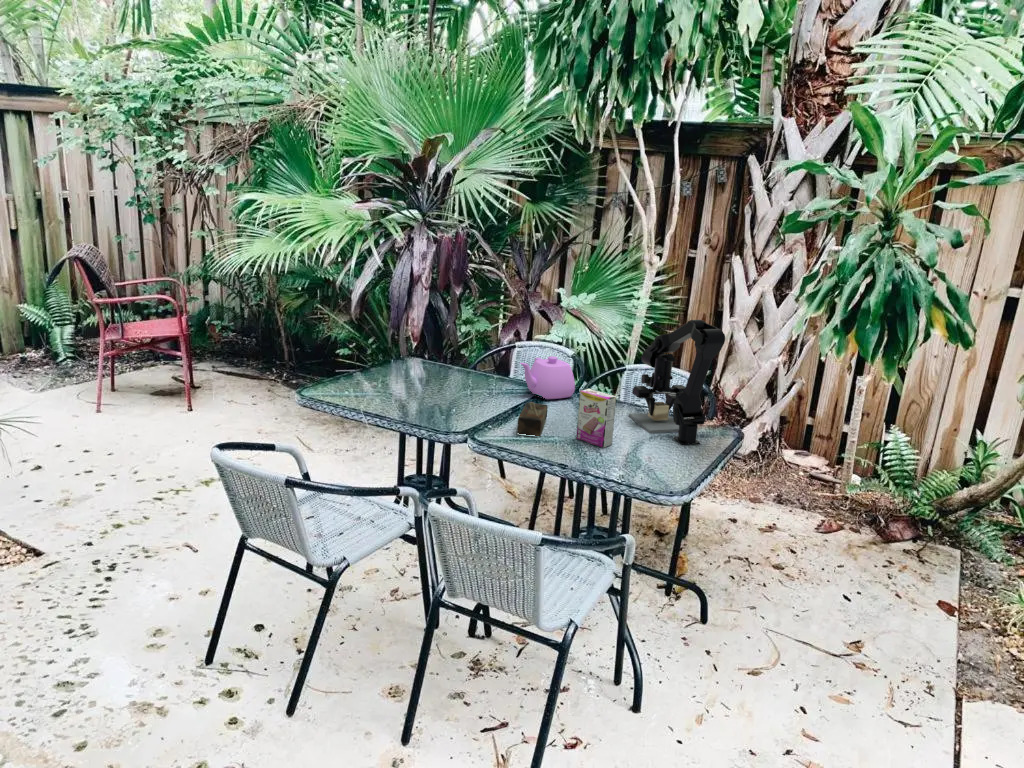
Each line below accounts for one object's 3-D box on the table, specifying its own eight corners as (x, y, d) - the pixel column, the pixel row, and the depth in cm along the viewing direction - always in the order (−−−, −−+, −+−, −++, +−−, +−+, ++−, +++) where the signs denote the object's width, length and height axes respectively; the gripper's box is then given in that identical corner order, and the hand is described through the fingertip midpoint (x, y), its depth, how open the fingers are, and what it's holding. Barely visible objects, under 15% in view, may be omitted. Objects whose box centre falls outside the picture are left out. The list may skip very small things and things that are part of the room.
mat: (687, 431, 256) (687, 428, 256) (649, 433, 253) (649, 430, 252) (664, 414, 273) (664, 412, 273) (628, 416, 269) (628, 413, 269)
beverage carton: (547, 420, 261) (548, 402, 259) (540, 439, 243) (541, 419, 241) (524, 418, 262) (525, 400, 260) (516, 436, 244) (517, 417, 242)
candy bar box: (575, 439, 243) (578, 390, 239) (584, 436, 247) (588, 387, 242) (603, 449, 236) (607, 398, 232) (612, 445, 240) (617, 395, 235)
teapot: (552, 384, 305) (554, 348, 301) (580, 399, 287) (583, 360, 283) (501, 389, 294) (503, 352, 290) (528, 405, 276) (530, 365, 272)
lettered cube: (667, 419, 260) (669, 405, 259) (654, 420, 259) (655, 406, 258) (661, 415, 265) (662, 401, 264) (648, 415, 264) (649, 401, 262)
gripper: (677, 365, 267) (672, 407, 272) (628, 366, 263) (624, 408, 267) (691, 373, 257) (686, 417, 261) (641, 374, 252) (636, 418, 257)
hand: (658, 415), depth 262 cm, fingers closed on lettered cube, 5 cm apart
